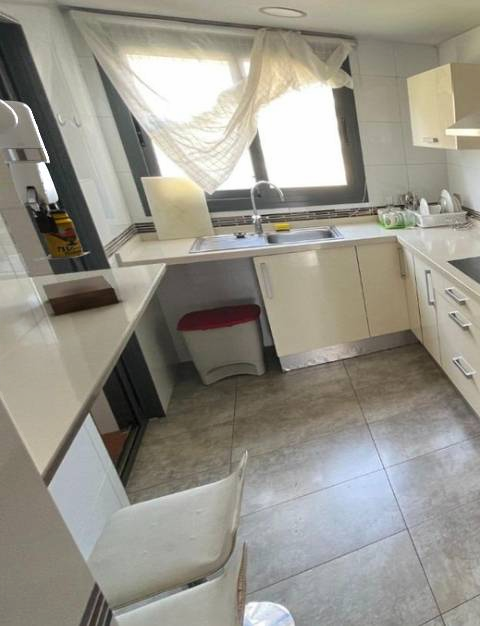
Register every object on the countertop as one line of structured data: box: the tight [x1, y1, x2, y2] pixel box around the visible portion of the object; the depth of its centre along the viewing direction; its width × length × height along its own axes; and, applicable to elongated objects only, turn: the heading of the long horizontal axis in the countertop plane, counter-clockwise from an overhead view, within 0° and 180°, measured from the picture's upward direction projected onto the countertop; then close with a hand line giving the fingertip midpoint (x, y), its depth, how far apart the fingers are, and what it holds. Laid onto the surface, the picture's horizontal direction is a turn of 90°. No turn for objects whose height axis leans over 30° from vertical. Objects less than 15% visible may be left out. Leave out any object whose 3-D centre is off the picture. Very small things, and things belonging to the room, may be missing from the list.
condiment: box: [36, 208, 90, 261], centre depth 118 cm, size 7×8×12 cm
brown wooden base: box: [42, 275, 120, 317], centre depth 112 cm, size 11×16×4 cm
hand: (53, 230), depth 117 cm, fingers closed on condiment, 6 cm apart
